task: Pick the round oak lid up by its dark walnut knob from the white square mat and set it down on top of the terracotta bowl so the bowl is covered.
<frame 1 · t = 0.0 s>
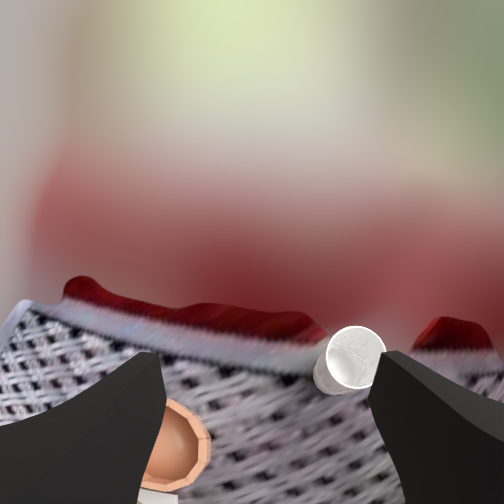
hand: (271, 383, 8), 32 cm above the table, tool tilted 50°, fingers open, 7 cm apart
white cup: (334, 374, 39), on the table
terracotta bowl: (165, 443, 32), on the table
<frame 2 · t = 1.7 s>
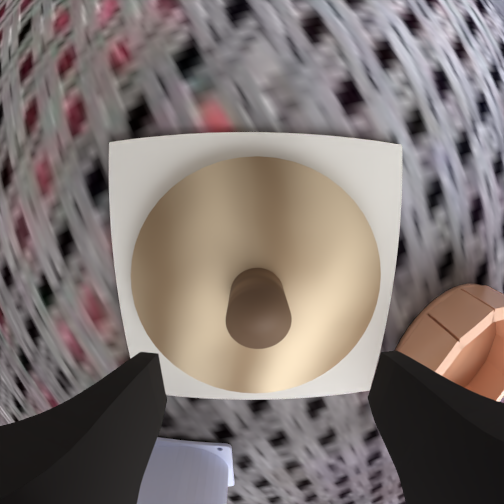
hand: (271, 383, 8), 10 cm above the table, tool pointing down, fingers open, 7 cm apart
oak lid: (256, 287, 17), resting on white square mat
white square mat: (256, 284, 18), on the table
terracotta bowl: (449, 353, 19), on the table
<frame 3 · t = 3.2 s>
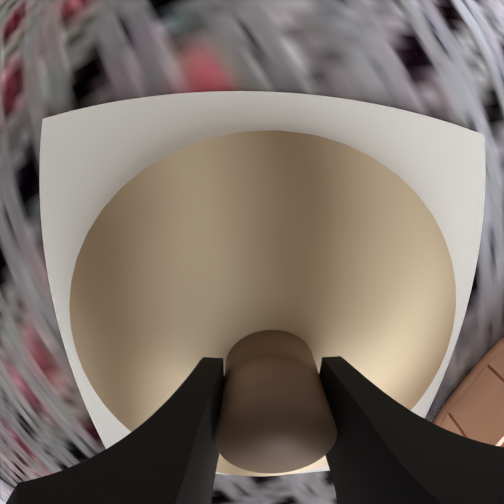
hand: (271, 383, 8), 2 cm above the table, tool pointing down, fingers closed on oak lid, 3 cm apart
oak lid: (268, 351, 10), resting on white square mat, touching gripper
white square mat: (267, 344, 11), on the table
terracotta bowl: (494, 399, 13), on the table
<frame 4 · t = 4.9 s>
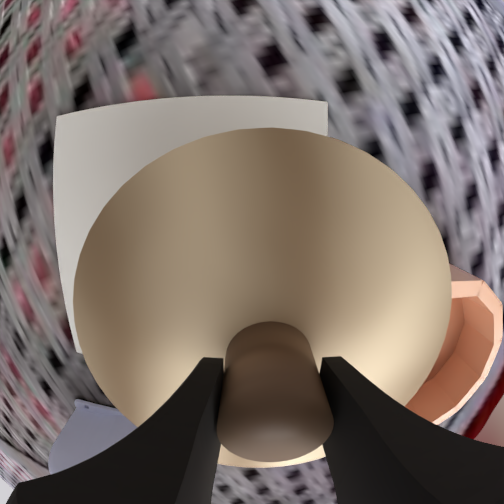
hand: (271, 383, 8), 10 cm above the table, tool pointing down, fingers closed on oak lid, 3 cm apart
oak lid: (267, 343, 11), point 8 cm above the table, touching gripper
white square mat: (173, 243, 17), on the table
terracotta bowl: (405, 339, 19), on the table
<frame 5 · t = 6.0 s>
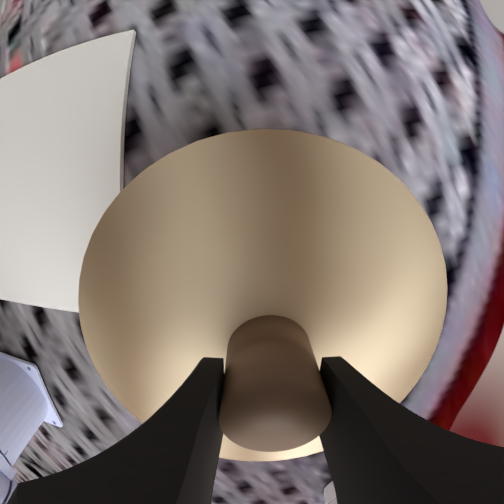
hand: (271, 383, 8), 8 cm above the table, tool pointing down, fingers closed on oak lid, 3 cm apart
white cup: (351, 482, 23), on the table
oak lid: (267, 337, 11), point 6 cm above the table, touching gripper
white square mat: (19, 181, 15), on the table
when the fingers open (8 cm above the table, at t = 6.7 s): oak lid stays where it is, resting on terracotta bowl.
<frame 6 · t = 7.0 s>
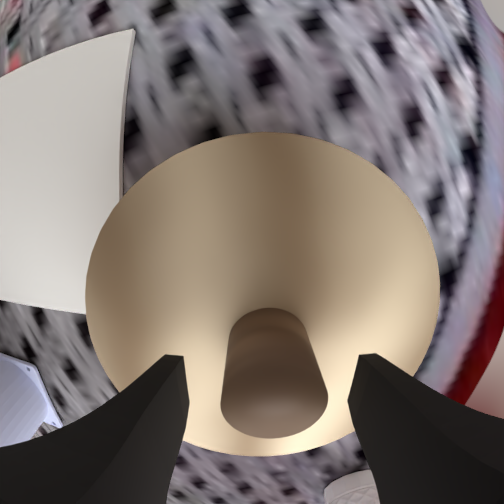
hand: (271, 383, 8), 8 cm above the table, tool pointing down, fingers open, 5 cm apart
white cup: (352, 483, 22), on the table
oak lid: (266, 330, 11), point 5 cm above the table, touching terracotta bowl
white square mat: (18, 181, 15), on the table
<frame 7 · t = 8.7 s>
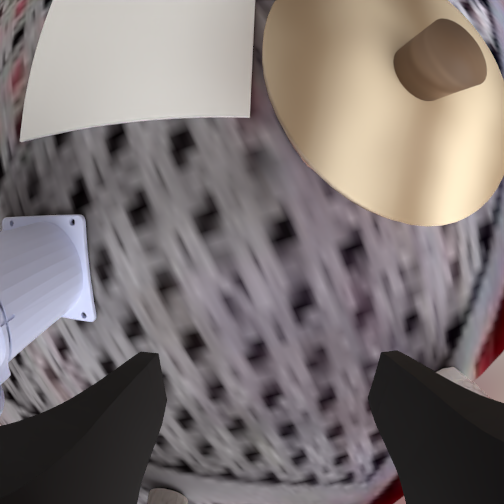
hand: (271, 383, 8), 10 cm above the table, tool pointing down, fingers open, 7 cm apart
decorative mushroom: (162, 492, 26), on the table
white cup: (433, 392, 22), on the table
oak lid: (410, 78, 11), point 5 cm above the table, touching terracotta bowl
white square mat: (130, 15, 14), on the table
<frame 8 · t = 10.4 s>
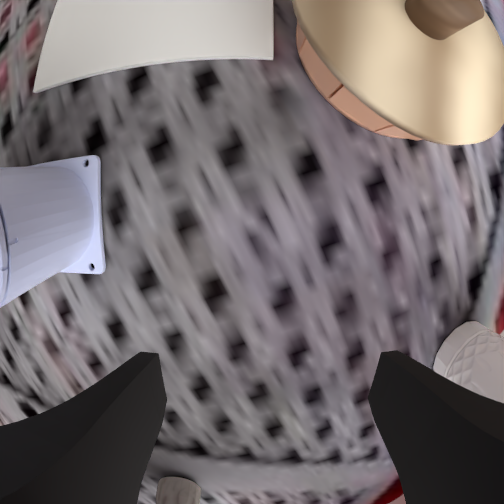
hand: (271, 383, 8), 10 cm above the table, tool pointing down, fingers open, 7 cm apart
decorative mushroom: (172, 482, 25), on the table
white cup: (457, 350, 21), on the table
oak lid: (419, 24, 10), point 5 cm above the table, touching terracotta bowl
terracotta bowl: (385, 53, 15), on the table
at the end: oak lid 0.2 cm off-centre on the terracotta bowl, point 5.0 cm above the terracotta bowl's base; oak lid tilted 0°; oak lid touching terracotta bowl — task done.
